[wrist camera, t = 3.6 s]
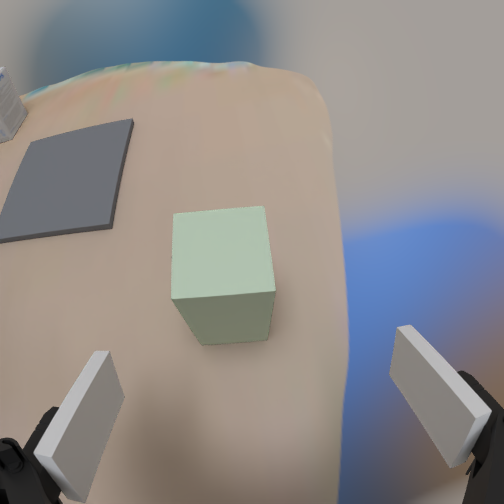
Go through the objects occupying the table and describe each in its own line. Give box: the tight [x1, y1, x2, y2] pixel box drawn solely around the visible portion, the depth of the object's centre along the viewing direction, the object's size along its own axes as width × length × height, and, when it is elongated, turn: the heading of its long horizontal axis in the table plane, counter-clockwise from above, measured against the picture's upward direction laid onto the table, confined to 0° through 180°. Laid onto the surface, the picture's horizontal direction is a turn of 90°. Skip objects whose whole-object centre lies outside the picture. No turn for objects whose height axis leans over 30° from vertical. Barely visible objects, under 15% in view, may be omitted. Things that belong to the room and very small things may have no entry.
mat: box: [0, 118, 134, 243], centre depth 32 cm, size 16×16×1 cm
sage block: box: [171, 206, 276, 345], centre depth 21 cm, size 5×5×10 cm
